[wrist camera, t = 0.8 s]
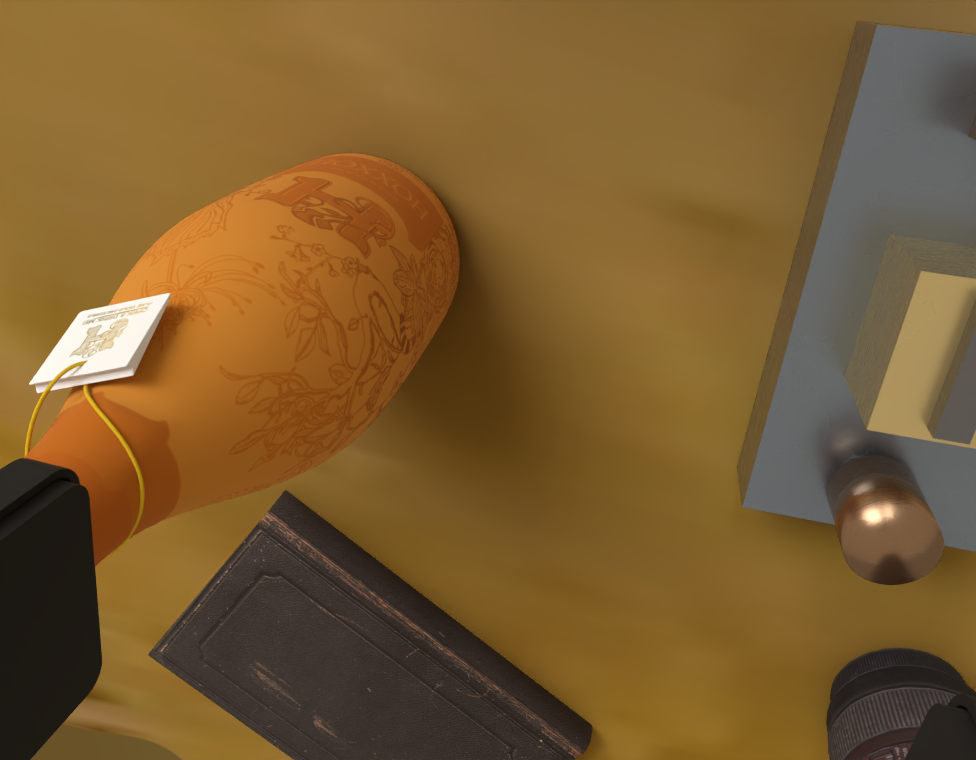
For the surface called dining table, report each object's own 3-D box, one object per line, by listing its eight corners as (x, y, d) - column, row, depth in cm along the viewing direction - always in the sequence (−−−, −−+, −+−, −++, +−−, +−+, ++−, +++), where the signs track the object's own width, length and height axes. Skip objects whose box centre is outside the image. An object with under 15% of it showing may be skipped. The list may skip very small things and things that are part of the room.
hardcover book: (439, 827, 57) (430, 858, 55) (167, 630, 54) (147, 655, 52) (594, 718, 50) (590, 749, 48) (289, 483, 47) (272, 506, 45)
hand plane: (857, 21, 31) (922, 33, 23) (1143, 52, 30) (1325, 77, 22) (737, 467, 40) (752, 593, 32) (954, 507, 39) (1030, 650, 30)
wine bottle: (502, 200, 37) (61, 737, 11) (426, 377, 42) (-13, 1059, 15) (304, 107, 37) (-630, 406, 11) (250, 293, 42) (-496, 828, 15)
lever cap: (890, 234, 31) (927, 278, 26) (1032, 254, 30) (1096, 303, 26) (844, 377, 34) (871, 440, 29) (974, 399, 33) (1023, 467, 28)
